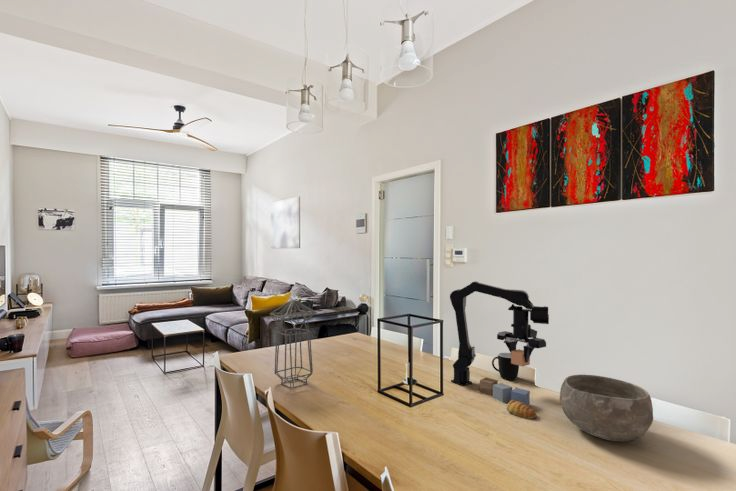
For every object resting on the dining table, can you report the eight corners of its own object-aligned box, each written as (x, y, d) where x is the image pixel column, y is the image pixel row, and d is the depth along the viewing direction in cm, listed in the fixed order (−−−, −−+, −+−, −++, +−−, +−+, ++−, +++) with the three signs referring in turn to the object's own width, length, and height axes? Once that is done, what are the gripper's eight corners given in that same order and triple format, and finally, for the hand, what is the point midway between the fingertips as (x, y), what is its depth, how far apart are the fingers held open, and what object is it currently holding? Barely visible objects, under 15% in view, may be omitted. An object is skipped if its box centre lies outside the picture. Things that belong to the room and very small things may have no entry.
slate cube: (502, 402, 141) (502, 389, 141) (492, 397, 145) (492, 384, 145) (512, 400, 143) (512, 387, 143) (502, 395, 148) (502, 382, 148)
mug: (522, 377, 169) (522, 355, 170) (515, 382, 162) (515, 359, 163) (495, 372, 177) (495, 350, 177) (488, 376, 170) (488, 354, 170)
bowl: (658, 464, 100) (658, 407, 100) (556, 439, 113) (556, 389, 113) (649, 429, 120) (648, 381, 121) (563, 411, 133) (563, 368, 134)
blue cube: (525, 408, 136) (525, 394, 136) (511, 404, 139) (511, 391, 139) (529, 404, 139) (529, 390, 139) (515, 400, 143) (515, 387, 143)
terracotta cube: (522, 366, 149) (522, 353, 149) (511, 363, 153) (511, 350, 153) (529, 364, 151) (529, 352, 152) (518, 361, 156) (518, 349, 156)
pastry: (540, 416, 129) (540, 405, 129) (530, 422, 125) (530, 410, 125) (514, 407, 137) (514, 397, 137) (504, 412, 132) (504, 401, 132)
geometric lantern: (286, 393, 147) (285, 303, 148) (268, 383, 159) (267, 300, 160) (320, 384, 157) (319, 299, 158) (300, 375, 169) (299, 297, 170)
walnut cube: (491, 396, 147) (491, 383, 147) (479, 392, 151) (479, 380, 151) (497, 393, 151) (497, 380, 151) (485, 389, 154) (486, 377, 154)
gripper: (554, 323, 149) (553, 363, 149) (512, 316, 165) (512, 352, 164) (537, 326, 143) (537, 368, 143) (496, 319, 158) (496, 356, 158)
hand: (520, 360), depth 152 cm, fingers closed on terracotta cube, 5 cm apart
